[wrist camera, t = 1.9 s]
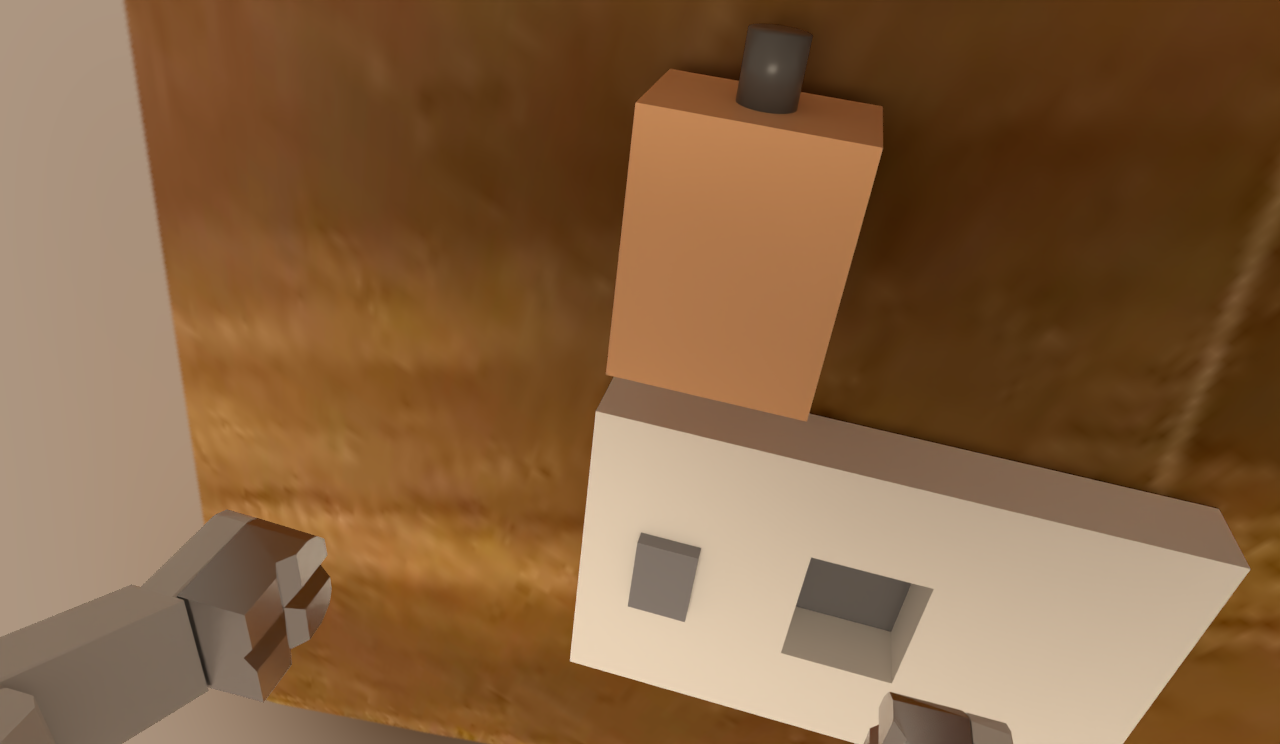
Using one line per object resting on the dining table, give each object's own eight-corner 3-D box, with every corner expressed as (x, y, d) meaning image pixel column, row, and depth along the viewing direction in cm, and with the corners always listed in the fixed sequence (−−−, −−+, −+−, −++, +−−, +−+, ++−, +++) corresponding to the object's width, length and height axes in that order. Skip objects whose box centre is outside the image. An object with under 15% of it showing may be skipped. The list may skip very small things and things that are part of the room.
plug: (900, 21, 24) (905, 68, 18) (820, 318, 29) (806, 421, 24) (695, -11, 25) (644, 24, 19) (655, 282, 30) (605, 374, 25)
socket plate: (1219, 508, 29) (1257, 582, 26) (1063, 743, 37) (1079, 820, 34) (617, 368, 32) (591, 420, 29) (589, 611, 40) (565, 672, 37)
